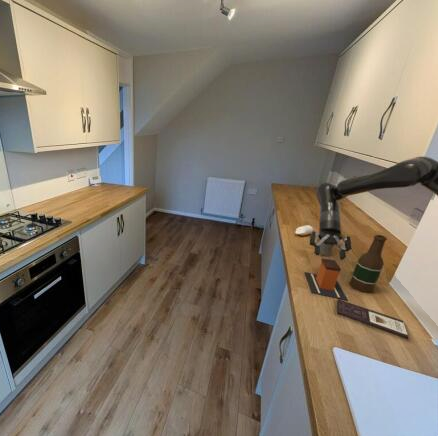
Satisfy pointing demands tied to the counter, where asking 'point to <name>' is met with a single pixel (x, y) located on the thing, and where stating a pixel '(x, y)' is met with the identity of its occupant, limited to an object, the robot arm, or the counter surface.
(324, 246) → the flask
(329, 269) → the box
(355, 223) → the counter surface
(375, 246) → the beer bottle
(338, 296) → the mat
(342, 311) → the chocolate bar
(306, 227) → the roll
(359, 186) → the robot arm
